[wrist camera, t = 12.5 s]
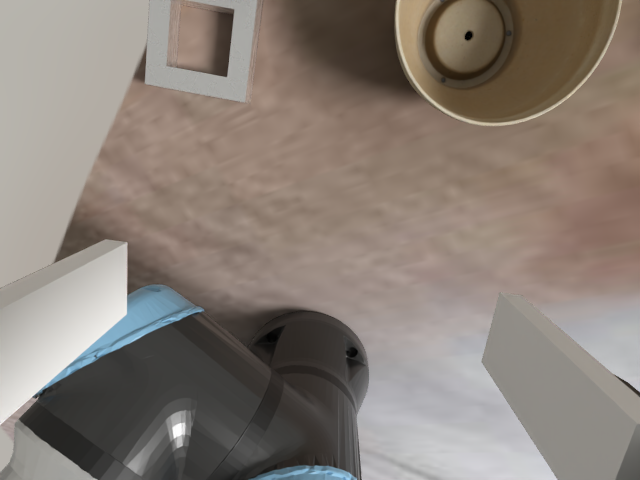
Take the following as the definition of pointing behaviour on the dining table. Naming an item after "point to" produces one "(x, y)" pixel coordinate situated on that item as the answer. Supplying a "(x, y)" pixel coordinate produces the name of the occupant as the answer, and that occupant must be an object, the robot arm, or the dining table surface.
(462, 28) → the planter bowl
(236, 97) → the grey slotted holder
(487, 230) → the dining table surface
